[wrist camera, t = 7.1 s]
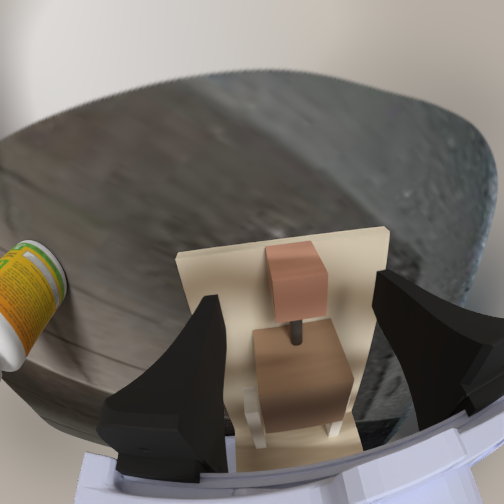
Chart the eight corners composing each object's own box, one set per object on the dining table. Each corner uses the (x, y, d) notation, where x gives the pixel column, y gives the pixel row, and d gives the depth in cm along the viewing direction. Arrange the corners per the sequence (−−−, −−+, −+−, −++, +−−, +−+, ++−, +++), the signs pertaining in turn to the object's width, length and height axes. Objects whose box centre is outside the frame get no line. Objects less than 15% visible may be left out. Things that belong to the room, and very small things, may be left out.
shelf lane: (347, 409, 25) (363, 462, 19) (236, 426, 25) (238, 482, 19) (383, 226, 15) (450, 292, 9) (178, 252, 15) (148, 340, 9)
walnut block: (326, 365, 19) (342, 420, 15) (260, 376, 19) (266, 433, 15) (334, 237, 14) (372, 293, 10) (239, 249, 14) (242, 313, 10)
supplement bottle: (30, 222, 14) (-67, 312, 5) (81, 280, 16) (10, 396, 7) (7, 264, 15) (-64, 347, 6) (51, 313, 17) (-4, 409, 9)
